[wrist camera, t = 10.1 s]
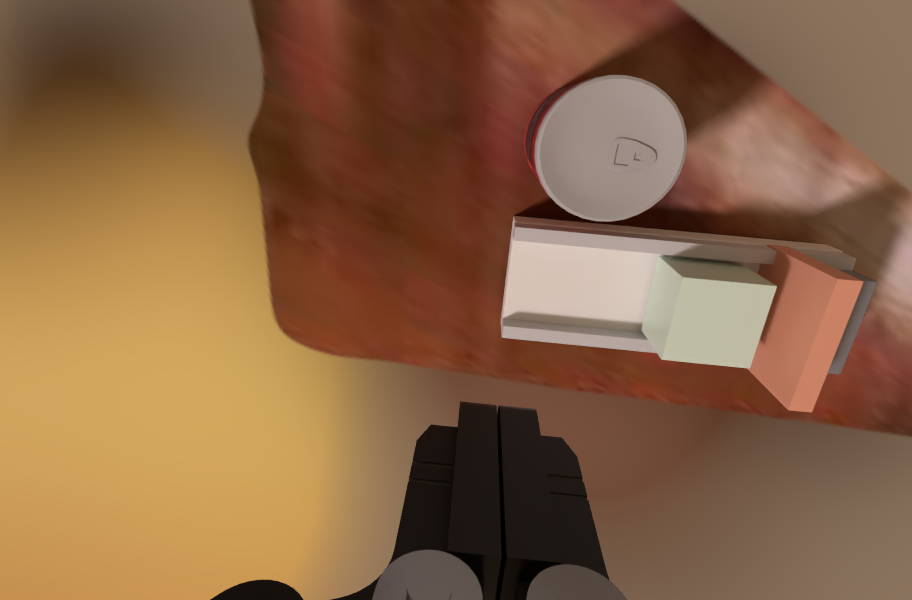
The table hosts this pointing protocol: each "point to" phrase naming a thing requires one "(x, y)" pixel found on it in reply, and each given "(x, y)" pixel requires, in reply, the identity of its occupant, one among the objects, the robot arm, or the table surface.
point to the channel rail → (630, 279)
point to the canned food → (606, 146)
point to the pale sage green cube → (706, 311)
